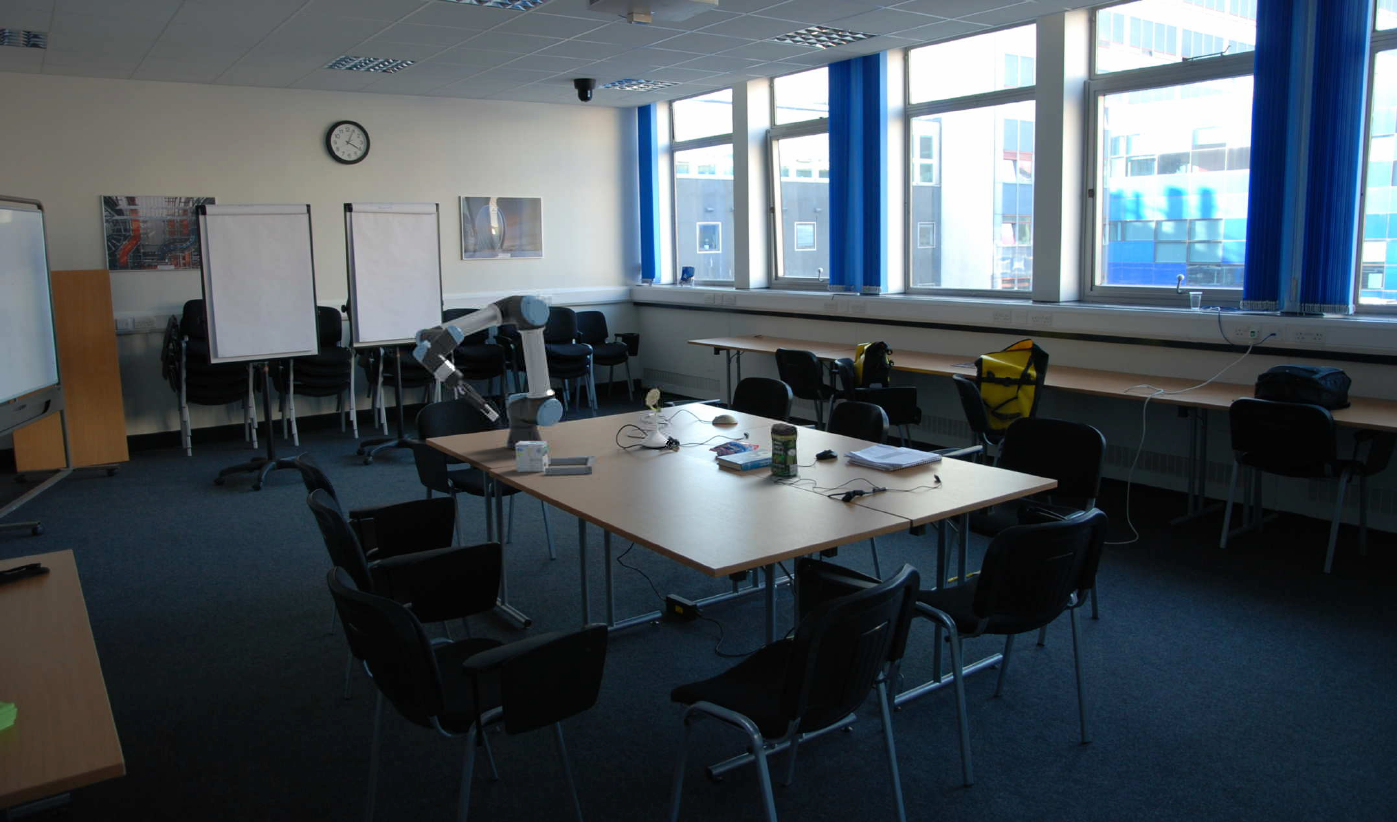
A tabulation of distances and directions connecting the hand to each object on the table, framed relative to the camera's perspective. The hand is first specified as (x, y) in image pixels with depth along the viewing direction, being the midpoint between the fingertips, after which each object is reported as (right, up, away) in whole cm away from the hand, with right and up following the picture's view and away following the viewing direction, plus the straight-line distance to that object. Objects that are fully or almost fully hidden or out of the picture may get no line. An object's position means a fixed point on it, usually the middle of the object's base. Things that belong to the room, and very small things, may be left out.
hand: (496, 418), depth 365 cm
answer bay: (+27, -19, +3) cm, 33 cm away
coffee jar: (+107, -20, -15) cm, 110 cm away
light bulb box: (+13, -20, +2) cm, 24 cm away
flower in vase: (+58, -12, +42) cm, 73 cm away
